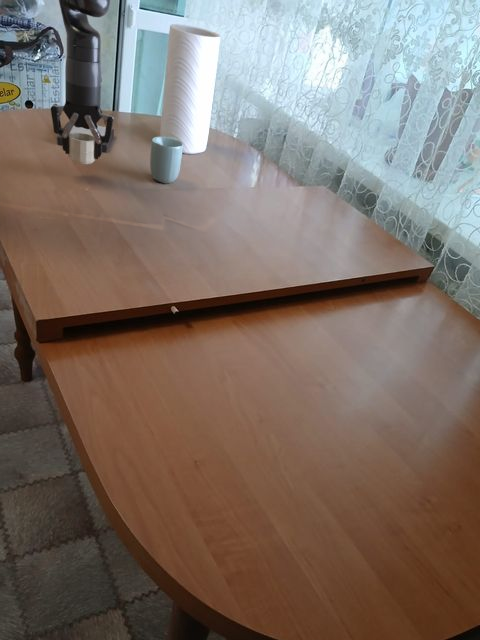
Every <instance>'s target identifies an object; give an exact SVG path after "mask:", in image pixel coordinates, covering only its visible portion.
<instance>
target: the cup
mask: <svg viewBox="0 0 480 640" xmlns="http://www.w3.org/2000/svg"><path fill="white" fill-rule="evenodd" d="M182 151H183V144H182V142H181V141H179V140H176V139H174V138H170V137H163V136H160V135H159V136H155V137H153V138H152V139H151V143H150V155H149V170H150V174H151V177H152V178H153V179H154V180H155V181H157V182H159V183H162V184H171V183H174V182H175V181H176V180H177V179H178V177H179V174H180V171H181V167H182V158H183V157H182V156H183V153H182Z"/></svg>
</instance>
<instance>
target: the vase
mask: <svg viewBox="0 0 480 640" xmlns="http://www.w3.org/2000/svg"><path fill="white" fill-rule="evenodd" d="M167 42H168V44H167V53H166V65H165V73H164V74H165V75H164V86H163V96H162V108H161V117H160V118H161V120H160V132H159V136H163V137H170V138H174V139H176V140H179V141H181V142H182V144H183V151H182V154H186V155H196V154H197V155H198V154H202V153H203V152H205V151H206V149H207V145H208V139H209V134H210V125H211V117H212V116H211V115H212V109H213V103H214V102H213V101H214V92H215V85H216V77H217V68H218V61H219V53H220V52H219V51H220V43H221V35H220V34H219V33H217V32H215V31H211V30H210V29H209V30H208V29H205V28H203V27H202V28H201V27H197V26H192V25H186V24H178V23H177V24H175V23H174V24H170V25H169V31H168V41H167Z"/></svg>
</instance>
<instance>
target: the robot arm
mask: <svg viewBox="0 0 480 640" xmlns="http://www.w3.org/2000/svg"><path fill="white" fill-rule="evenodd" d="M58 3H59V8H60V13H61V16H62V17H61V18H62V22H63V25H64V29H65V33H66V34H65V35H66V58H65V67H64V68H65V71H64V72H65V73H64V75H65V83H64V84H65V101H64V105H60V104H59V105H58V104H57V103H53V104H52V105H51V106H50V114H51V120H52V127H53V133H54V134H57V135H61V136H62V138H63V145H62V151H63V152H65V154H66V155H69V133H70V132H71V130H72V128H73V126H75V127H78V128H80V127H82V128H85V129H90V131H91V133H92V135H93V136H94V138H95V141H96V143H95V160H99V158H101V156H102V155H103V152H102V143H105V142H106V143H108V142H109V140H110V137H111V132H112V129H113V125H114V122H115V121H114V120H115V116H114V115H113V114H106V113H103V111H102V109H101V100H102V99H101V97H102V96H101V95H102V91H101V90H102V82H103V81H102V80H103V79H102V66H101V57H102V56H101V55H102V37H101V34H100V32H99V31H98V30H97V29H95V28H94V27H93V26H92V25H91V24H90V22H89V18H88V16H89V17H92V18H102V17H104V16H105V15H106V14H107V13H108V12H109V10H110V7H111V0H58ZM63 112H64V114H65V116H66V117H67V118H68V119H67V120H69V121H67V123H68V124H67V123H66V124H67V126H66V125H65V126H66V128H65V129H63V128H64V127H62V122H61V115H62V114H63ZM101 119H102V120H103V124H104V125H106V126H105V127H106V130H105V135H104V136H101V133H100V131H99V127H98V126H99V125H98V122H99V121H100V120H101Z"/></svg>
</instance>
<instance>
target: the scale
mask: <svg viewBox="0 0 480 640" xmlns="http://www.w3.org/2000/svg"><path fill="white" fill-rule="evenodd" d="M67 124H68V122H66V124H65V125H64V127H62V128H63V129H65V128H66V126H67ZM98 127H99V131H100V133H101V136H104V135H105V130H106V126H101V125H98ZM77 132H79V133H86V134H90V135H92V133H91V131H90V129H85V128H82V127H80V128H78V127H75V126H73V128H72V130H71V132H70V133H69V134H71V133H77ZM92 136H93V135H92ZM114 138H115V129H113V128H112V132H111V137H110V140H109V142H108V143H106V142H105V143H102V153H107V152H108V151H109V148H110V146H111V143H112V141H113V139H114ZM56 142H57V143H56V144H57V145H59V146H63V138H62V136H61V135H59V134H57V137H56Z"/></svg>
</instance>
